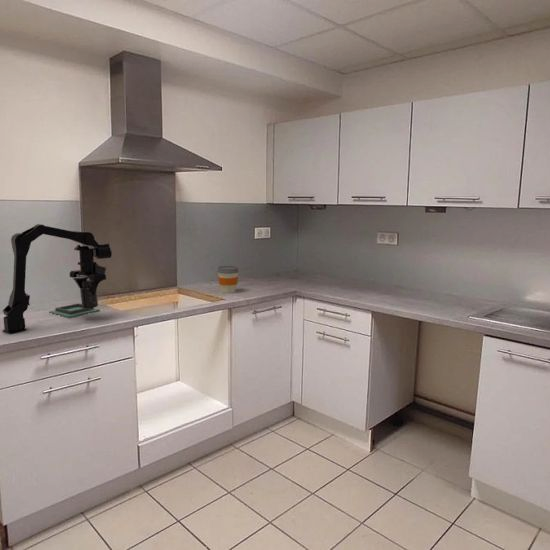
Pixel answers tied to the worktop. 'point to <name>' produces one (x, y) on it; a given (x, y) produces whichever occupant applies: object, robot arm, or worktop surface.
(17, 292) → the robot arm
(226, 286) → the reusable coffee cup
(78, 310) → the dock board
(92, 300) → the supplement bottle
